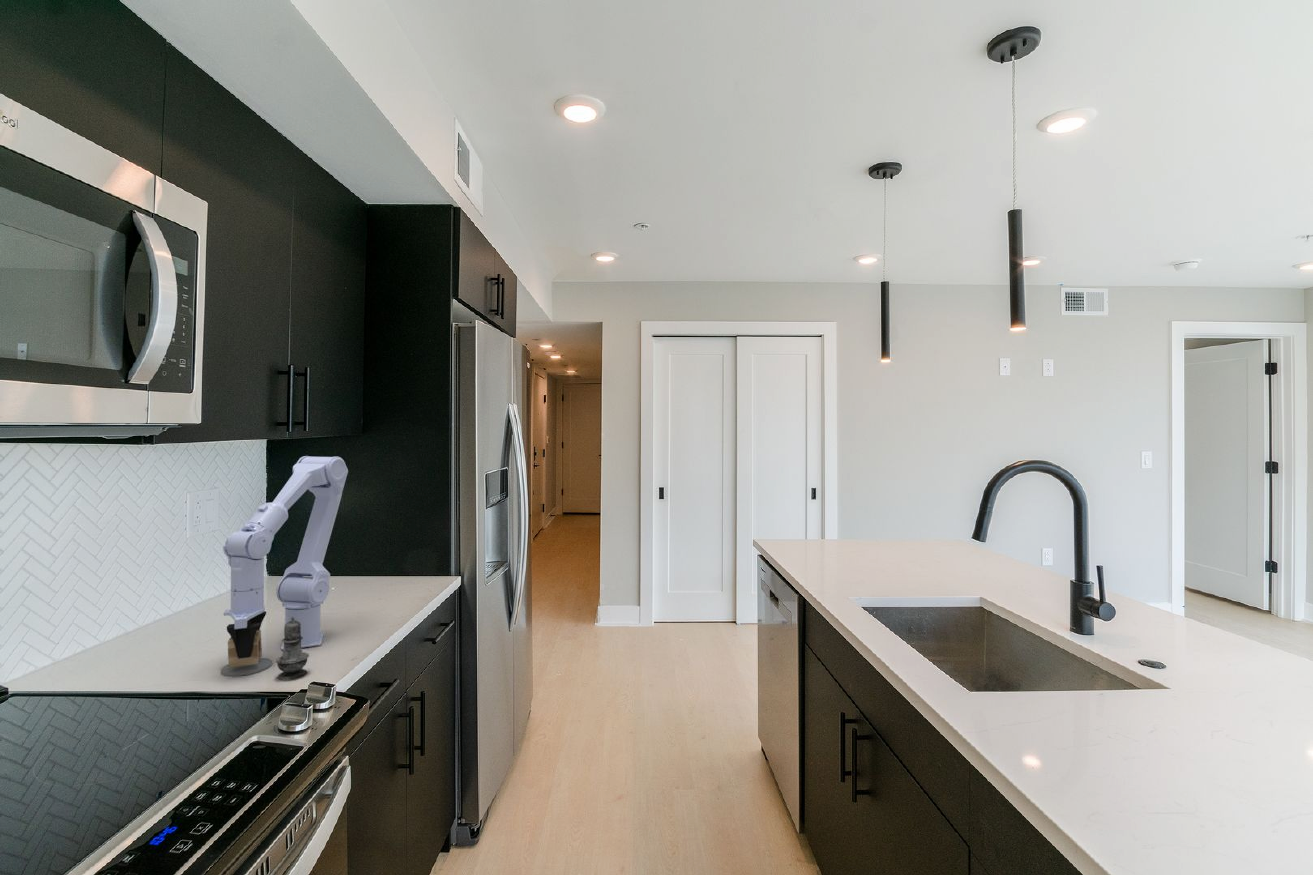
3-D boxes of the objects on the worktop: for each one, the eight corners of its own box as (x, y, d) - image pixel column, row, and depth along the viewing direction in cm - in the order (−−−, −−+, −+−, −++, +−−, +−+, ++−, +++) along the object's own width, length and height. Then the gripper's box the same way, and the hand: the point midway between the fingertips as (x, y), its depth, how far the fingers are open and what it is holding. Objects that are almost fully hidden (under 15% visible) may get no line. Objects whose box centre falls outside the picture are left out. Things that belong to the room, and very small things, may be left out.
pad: (225, 663, 127) (225, 661, 127) (275, 656, 131) (275, 655, 131) (215, 679, 119) (216, 677, 119) (269, 671, 123) (269, 669, 123)
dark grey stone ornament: (293, 682, 118) (293, 622, 118) (268, 679, 119) (268, 619, 119) (315, 670, 124) (316, 613, 124) (291, 668, 125) (291, 611, 125)
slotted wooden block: (233, 659, 126) (232, 633, 126) (261, 655, 128) (260, 629, 128) (228, 668, 122) (227, 641, 122) (257, 663, 124) (256, 637, 124)
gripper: (231, 581, 130) (231, 644, 130) (215, 599, 117) (215, 668, 117) (270, 578, 133) (269, 639, 133) (258, 595, 120) (258, 662, 120)
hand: (247, 652), depth 125 cm, fingers closed on slotted wooden block, 5 cm apart
